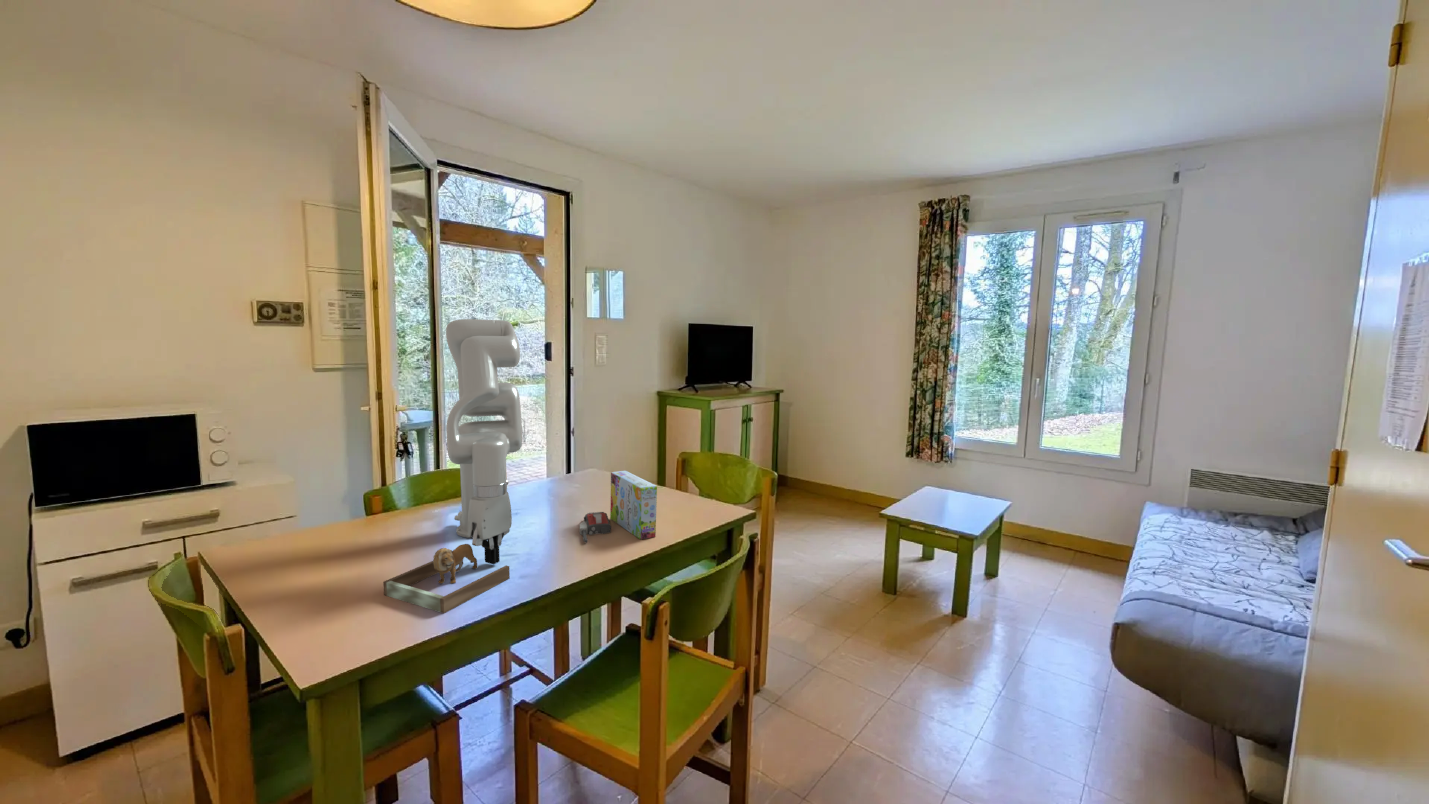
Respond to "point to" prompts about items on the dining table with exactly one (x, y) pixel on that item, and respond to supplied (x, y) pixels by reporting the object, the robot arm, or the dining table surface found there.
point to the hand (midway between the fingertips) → (492, 562)
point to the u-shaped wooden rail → (403, 591)
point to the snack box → (633, 504)
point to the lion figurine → (452, 561)
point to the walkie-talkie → (595, 524)
